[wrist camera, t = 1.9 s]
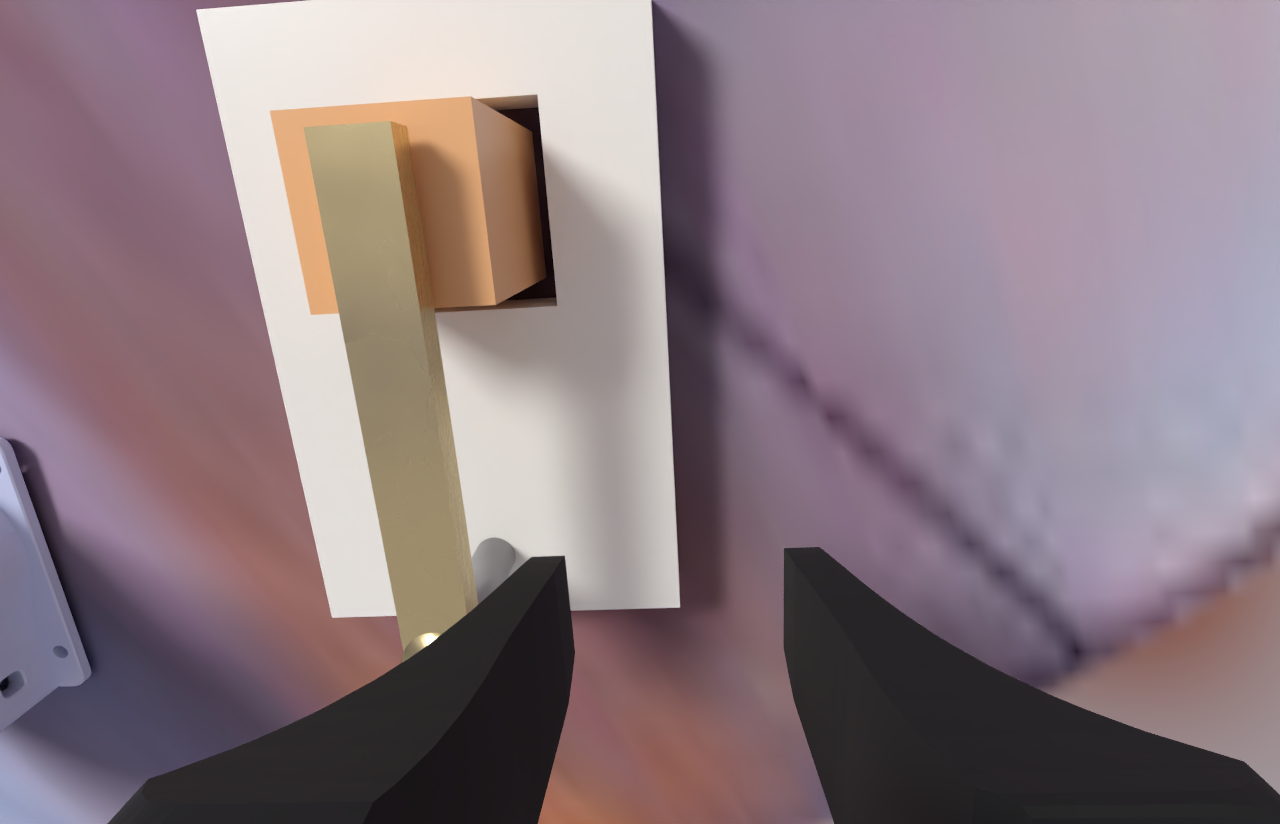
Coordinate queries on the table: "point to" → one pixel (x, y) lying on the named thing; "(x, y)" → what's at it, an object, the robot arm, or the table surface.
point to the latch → (395, 369)
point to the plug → (434, 197)
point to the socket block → (494, 334)
